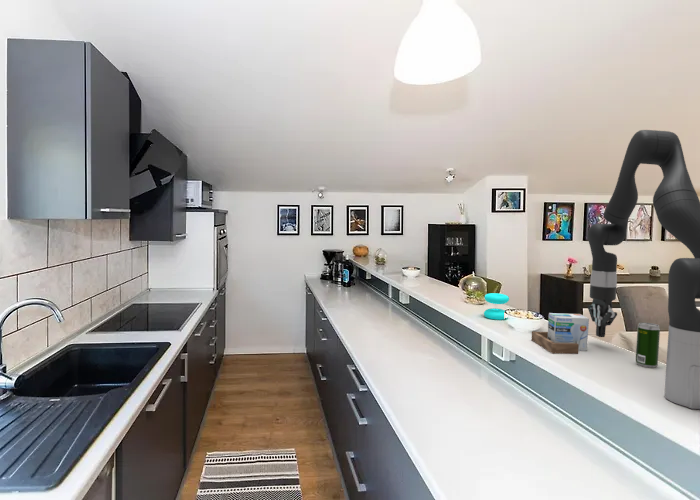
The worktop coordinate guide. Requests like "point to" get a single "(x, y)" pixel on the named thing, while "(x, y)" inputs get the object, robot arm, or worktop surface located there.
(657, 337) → the green metal cylinder
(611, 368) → the worktop surface
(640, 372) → the worktop surface
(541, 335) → the wooden u-shaped bracket
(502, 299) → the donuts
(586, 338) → the light bulb box
